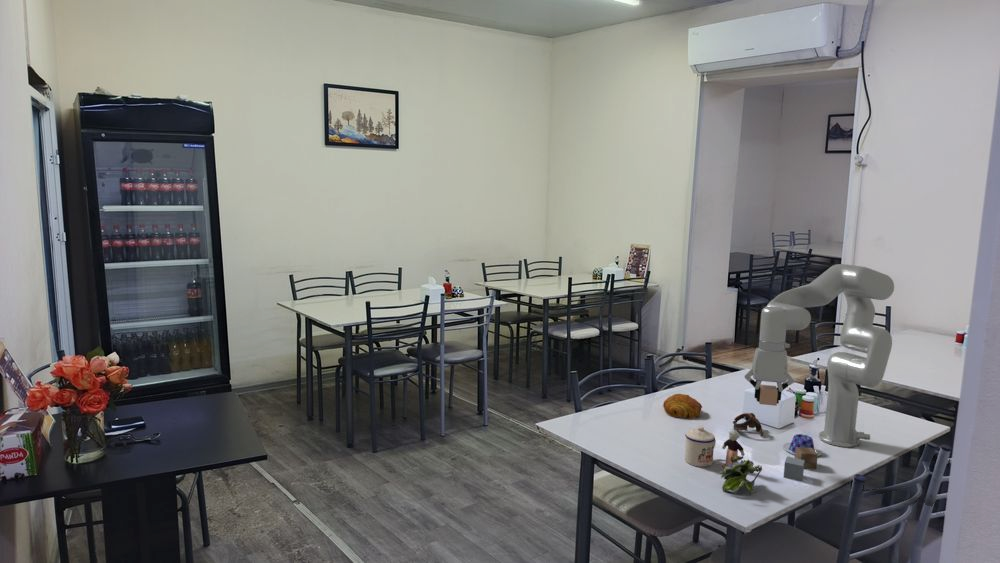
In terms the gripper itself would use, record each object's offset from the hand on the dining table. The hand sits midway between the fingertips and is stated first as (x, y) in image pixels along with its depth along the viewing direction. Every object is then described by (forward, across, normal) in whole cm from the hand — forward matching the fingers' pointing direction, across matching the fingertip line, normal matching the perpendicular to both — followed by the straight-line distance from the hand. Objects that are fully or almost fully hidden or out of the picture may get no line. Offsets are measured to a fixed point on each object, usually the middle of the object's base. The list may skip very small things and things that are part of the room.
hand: (767, 400), depth 204 cm
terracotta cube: (+1, 0, 0) cm, 1 cm away
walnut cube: (+21, -13, -1) cm, 24 cm away
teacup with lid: (+21, +19, +6) cm, 29 cm away
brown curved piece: (+21, +2, -25) cm, 32 cm away
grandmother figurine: (+21, +10, +9) cm, 25 cm away
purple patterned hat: (+21, -14, -13) cm, 28 cm away
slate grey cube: (+20, -8, +9) cm, 24 cm away
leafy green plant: (+21, +8, +23) cm, 32 cm away
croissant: (+21, +25, -38) cm, 51 cm away
